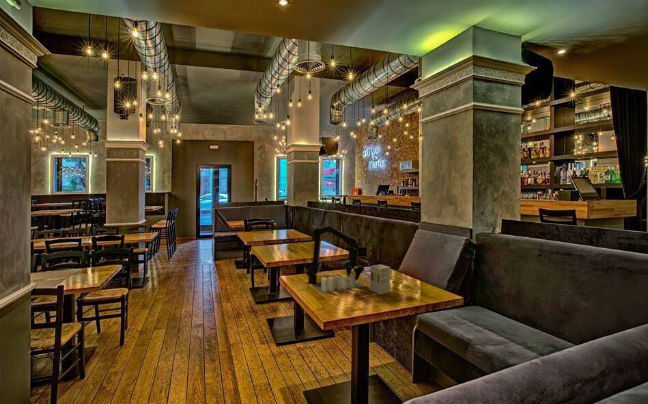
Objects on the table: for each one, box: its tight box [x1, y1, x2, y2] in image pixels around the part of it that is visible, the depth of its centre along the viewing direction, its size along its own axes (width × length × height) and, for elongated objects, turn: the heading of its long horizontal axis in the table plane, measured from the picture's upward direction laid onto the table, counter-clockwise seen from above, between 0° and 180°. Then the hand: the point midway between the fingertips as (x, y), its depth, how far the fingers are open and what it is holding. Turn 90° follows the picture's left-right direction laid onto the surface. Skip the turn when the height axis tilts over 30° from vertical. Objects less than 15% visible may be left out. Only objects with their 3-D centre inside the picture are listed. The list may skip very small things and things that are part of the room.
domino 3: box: [334, 275, 341, 290], centre depth 230 cm, size 5×2×8 cm, turn 29°
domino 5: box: [348, 273, 357, 287], centre depth 236 cm, size 5×2×8 cm, turn 29°
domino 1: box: [320, 277, 328, 292], centre depth 225 cm, size 5×2×8 cm, turn 29°
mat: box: [311, 280, 366, 294], centre depth 236 cm, size 18×32×1 cm, turn 119°
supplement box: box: [369, 264, 391, 295], centre depth 226 cm, size 10×9×17 cm
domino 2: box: [327, 276, 335, 291], centre depth 228 cm, size 5×2×8 cm, turn 29°
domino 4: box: [340, 274, 348, 289], centre depth 233 cm, size 5×2×8 cm, turn 29°
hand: (352, 278), depth 236 cm, fingers open, 9 cm apart
